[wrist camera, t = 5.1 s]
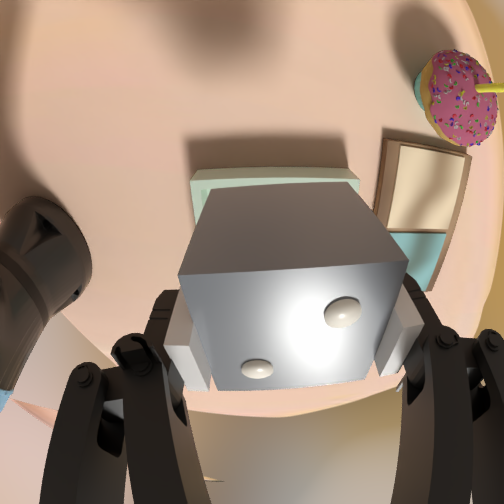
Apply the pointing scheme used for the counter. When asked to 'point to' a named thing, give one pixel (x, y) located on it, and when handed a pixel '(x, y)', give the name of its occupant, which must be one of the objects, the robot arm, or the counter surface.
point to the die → (290, 285)
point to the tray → (262, 179)
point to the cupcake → (458, 97)
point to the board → (421, 202)
